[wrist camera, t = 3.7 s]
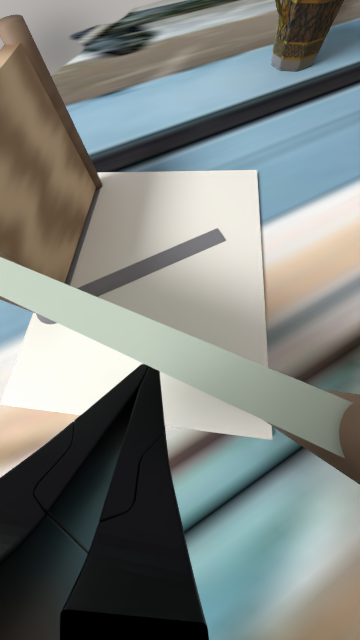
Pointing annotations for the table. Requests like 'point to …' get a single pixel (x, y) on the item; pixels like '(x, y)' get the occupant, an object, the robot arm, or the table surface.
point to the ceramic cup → (301, 31)
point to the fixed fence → (38, 162)
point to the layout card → (158, 292)
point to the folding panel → (201, 366)
